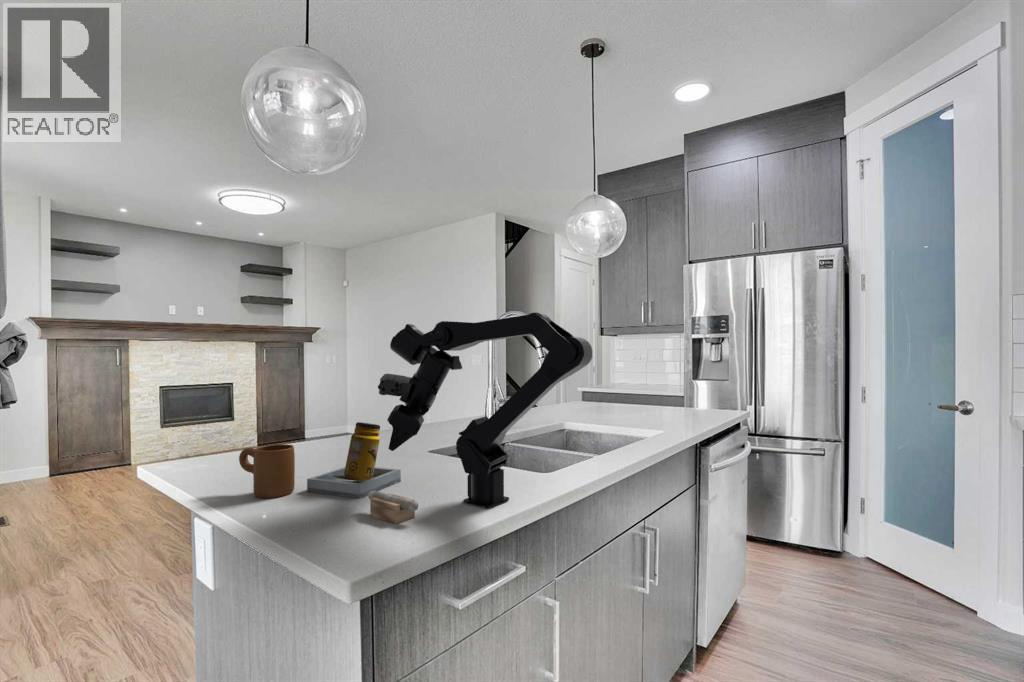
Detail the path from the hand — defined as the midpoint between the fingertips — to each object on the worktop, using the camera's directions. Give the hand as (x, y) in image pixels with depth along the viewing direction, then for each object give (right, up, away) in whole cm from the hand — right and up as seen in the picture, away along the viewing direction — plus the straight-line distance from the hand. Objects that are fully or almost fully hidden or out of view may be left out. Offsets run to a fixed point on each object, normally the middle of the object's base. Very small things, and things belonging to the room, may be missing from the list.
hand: (396, 440), depth 102 cm
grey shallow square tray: (-10, -10, +3) cm, 15 cm away
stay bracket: (+3, -10, -16) cm, 19 cm away
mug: (-27, -11, -1) cm, 29 cm away
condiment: (-10, -9, +2) cm, 13 cm away
